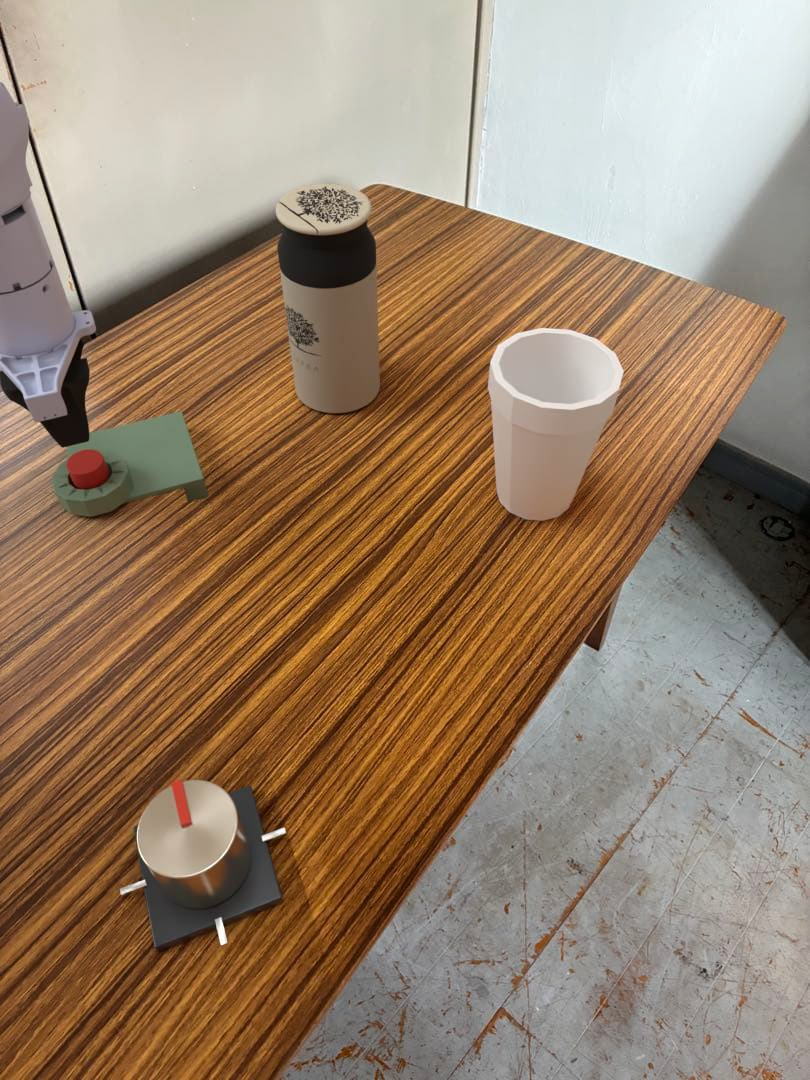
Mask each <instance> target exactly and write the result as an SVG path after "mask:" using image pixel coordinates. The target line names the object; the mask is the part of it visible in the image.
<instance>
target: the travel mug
mask: <svg viewBox="0 0 810 1080" xmlns="http://www.w3.org/2000/svg"><path fill="white" fill-rule="evenodd" d="M372 209H373V206H372V203H371V201H370V199H369V197H368V196H367V195H366V194H364V193H363V192H362V191H360V190H359V189H356V188H353V187H351V186H347V185H342V184H335V183H318V184H311V185H305V186H301V187H298V188H295V189H293V190H291V191H289V192H287V193H286V194H285V195H283V196H282V197H281V198H280V199H279V200H278V202H277V203H276V206H275V215H276V218H277V220H278V221H279V222H280V223H281V227H282V233H281V234H280V237H279V240H278V241H277V245H276V247H277V248H276V250H277V256H278V264H279V272H280V279H281V288H282V295H283V302H284V304H283V305H284V312H285V319H286V328H287V332H288V333H287V335H288V342H289V350H290V358H291V366H292V373H293V380H294V388H295V394H296V396H297V398H298V400H300V402H301V403H303V404H304V405H305V406H307V407H308V408H310V409H313V410H315V411H318V412H323V413H326V414H327V413H328V414H343V413H350V412H354V411H357V410H359V409H360V410H361V409H362V408H364V407H366V406H368V405H369V404H370V403H371V402H373V400H375V398H376V397H377V395H378V394H379V392H380V388H381V375H380V369H381V368H380V338H379V337H380V335H379V305H378V303H379V301H378V272H377V242H376V239H375V236H374V234H373V233H372V231H371V230H370V228H369V226H368V220H369V218H370V216H371V214H372Z"/></svg>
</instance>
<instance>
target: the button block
mask: <svg viewBox="0 0 810 1080" xmlns="http://www.w3.org/2000/svg"><path fill="white" fill-rule="evenodd" d="M65 448H66V453H67V458H66V459H65V460H64V461H62V462H61V463H59V464H58V466H57V467H56V469H55V471H54V473H53V474H52V476H51V482H52V488H53V492H54V494H55V496H56V498H57V500H58V503H59V504H60V506H61V507H62V508H64V510H66V511H67V512H69V513H70V514H71V515H73V516H79V517H88V518H89V517H90V518H91V517H96V516H99V515H103V514H108V513H111V512H113V511H114V510H116V509H117V508H118V507H120V506H121V505H123V504H128V503H131V502H135V501H138V500H142V499H145V498H150V497H153V496H157V495H161V494H165V493H169V492H172V491H177V490H180V489H183V490H184V494H185V497H186V501H187V502H188V503H189V502H193V501H197V500H199V499H205V498H207V497H209V493H208V489H207V484H206V481H205V478H204V475H203V472H202V469H201V465H200V463H199V459H198V457H197V453H196V449H195V447H194V444H193V441H192V438H191V434H190V432H189V428H188V425H187V423H186V419H185V416H184V414H183V411H182V410H180V411H175V412H171V413H168V414H167V413H166V414H163V415H159V416H155V417H150V418H146V419H142V420H139V421H138V420H137V421H135V422H134V421H133V422H130V423H126V424H121V425H117V426H114V427H109V428H105V429H100V430H96V431H92V432H89V441H88V442H84V443H80V444H76V445H72V446H68V447H65ZM87 449H92V450H96V451H99V452H100V453H101V454H102V455H103V457H104V460H105V462H106V465H107V468H108V470H109V478H108V480H107V481H106V482H105V483H104V484H102V485H101V486H99V487H97V488H93V489H89V490H83V489H79V488H77V487H76V486H75V485H74V483H73V481H72V479H71V477H70V474H69V472H68V470H67V467H66V464H67V461H68V459H69V458H70V457H71V456H72V455H73V454H75V453H76V452H79V451H82V450H87Z"/></svg>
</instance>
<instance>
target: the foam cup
mask: <svg viewBox="0 0 810 1080" xmlns="http://www.w3.org/2000/svg"><path fill="white" fill-rule="evenodd" d="M624 371H625V370H624V369H623V367H622V365H621V363H620V360H619V358H618V355H617V353H615V352H614V351H613V350H612V349H610V347H608V346H606V345H605V344H604V343H603V342H601V341H600V340H599V339H597V338H595V337H593V336H589V335H587V334H584V333H581V332H578V331H575V330H572V329H564V328H550V327H540V328H539V327H538V328H535V329H529V330H525V331H521V332H515V334H513V335H512V336H510V337H509V338H507V339H506V340H504V341H502V342H500V343H499V344H497V346H496V348H495V351H494V353H493V355H492V358H491V359H490V362H489V372H488V380H487V381H488V382H487V390H488V393H489V397H490V404H491V405H490V406H491V421H492V422H491V423H492V438H493V454H494V455H493V457H494V475H495V487H496V493H497V497H498V502H499V503H500V504H501V505H502V506H503V507H504V508H505V509H506V510H507V511H508V512H509V513H510V514H513V515H514V516H517V517H519V518H521V519H523V520H530V521H539V522H541V521H542V522H544V521H547V520H552V519H555V518H559V517H560V516H561V515H562V514H564V513H565V512H566V511H567V510H568V509H569V508H570V506H571V504H572V503H573V501H574V498H575V495H576V494H577V491H578V488H579V487H580V484H581V482H582V479H583V477H584V475H585V472H586V470H587V467H588V465H589V463H590V461H591V458H592V456H593V454H594V451H595V449H596V447H597V445H598V442H599V440H600V437H601V435H602V433H603V431H604V428H605V427H606V423H607V421H608V419H610V417H612V416H613V414H614V410H615V406H616V403H617V399H618V395H619V392H620V387H621V384H622V381H623V376H624Z"/></svg>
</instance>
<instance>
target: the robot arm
mask: <svg viewBox="0 0 810 1080" xmlns="http://www.w3.org/2000/svg"><path fill="white" fill-rule="evenodd" d="M29 127H30V126H29V118H28V113H27V109H26V106H25V105H24V104H22V103H20V104H19V103H18V102H16V101H15V100H14V98H13V96H12V95H11V94H10V92H9V91H8V89H7V87H6V86H5V84H4V82H1V81H0V387H1V390H2V392H3V394H4V395H5V396H6V398H7V399H9V401H11V402H13V403H15V404H17V405H19V406H20V407H21V408H24V409H25V410H26V411H28V412H29V413H30V414H31V418H32V420H33V422H34V423H40V424H41V425H42V427H43V428H44V429H45V430H46V432H47V433H48V434H49V435H50V436H51V438H52V439H53V440H54V441H55V442H56V444H57V445H59V447H60V448H62V449H63V448H66V447H68V446H72V445H76V444H80V443H84V442H88V441H89V433H90V426H89V420H88V414H87V407H86V396H87V395H86V394H87V389H88V386H89V383H90V375H91V372H90V366H89V361H88V358H87V357H84V358H82V356H83V355H82V354H83V350H84V347H85V344H84V339H83V337H86V336H90V335H93V334H94V333H96V332H97V326H96V322H95V318H94V316H93V313H92V312H91V311H90V310H87V309H85V310H77V311H73V310H72V308H71V305H70V302H69V299H68V297H67V294H66V291H65V288H64V286H63V283H62V280H61V278H60V274H59V272H58V269H57V266H56V263H55V261H54V258H53V255H52V252H51V250H50V246H49V244H48V241H47V239H46V236H45V233H44V230H43V227H42V224H41V221H40V218H39V216H38V213H37V210H36V207H35V205H34V201H33V198H32V196H31V195H32V192H31V187H32V186H33V182H32V180H31V176H30V174H29V171H28V167H27V159H26V158H27V152H28V146H29V138H30V128H29Z"/></svg>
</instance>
